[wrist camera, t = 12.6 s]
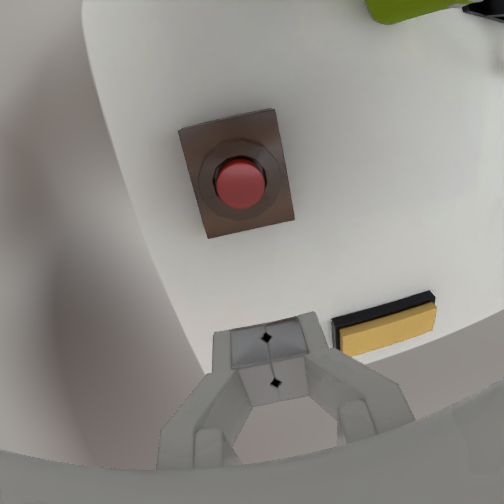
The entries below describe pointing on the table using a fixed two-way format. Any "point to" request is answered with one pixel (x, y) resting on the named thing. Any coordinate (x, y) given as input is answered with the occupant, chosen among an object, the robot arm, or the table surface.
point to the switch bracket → (487, 9)
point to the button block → (229, 148)
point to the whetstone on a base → (384, 324)
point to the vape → (409, 8)
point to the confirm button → (240, 183)
